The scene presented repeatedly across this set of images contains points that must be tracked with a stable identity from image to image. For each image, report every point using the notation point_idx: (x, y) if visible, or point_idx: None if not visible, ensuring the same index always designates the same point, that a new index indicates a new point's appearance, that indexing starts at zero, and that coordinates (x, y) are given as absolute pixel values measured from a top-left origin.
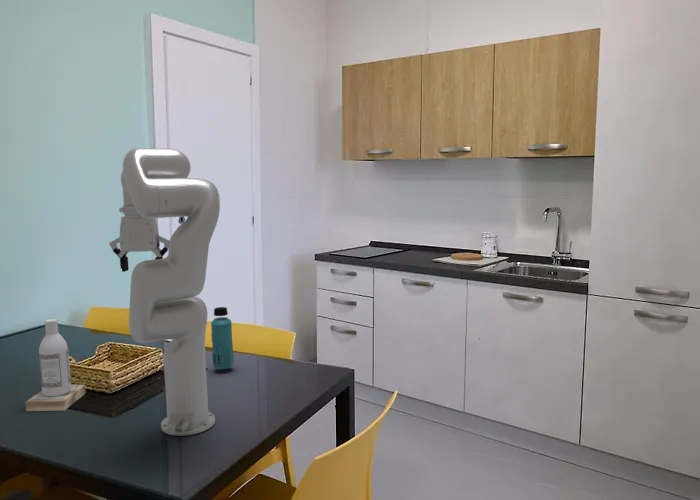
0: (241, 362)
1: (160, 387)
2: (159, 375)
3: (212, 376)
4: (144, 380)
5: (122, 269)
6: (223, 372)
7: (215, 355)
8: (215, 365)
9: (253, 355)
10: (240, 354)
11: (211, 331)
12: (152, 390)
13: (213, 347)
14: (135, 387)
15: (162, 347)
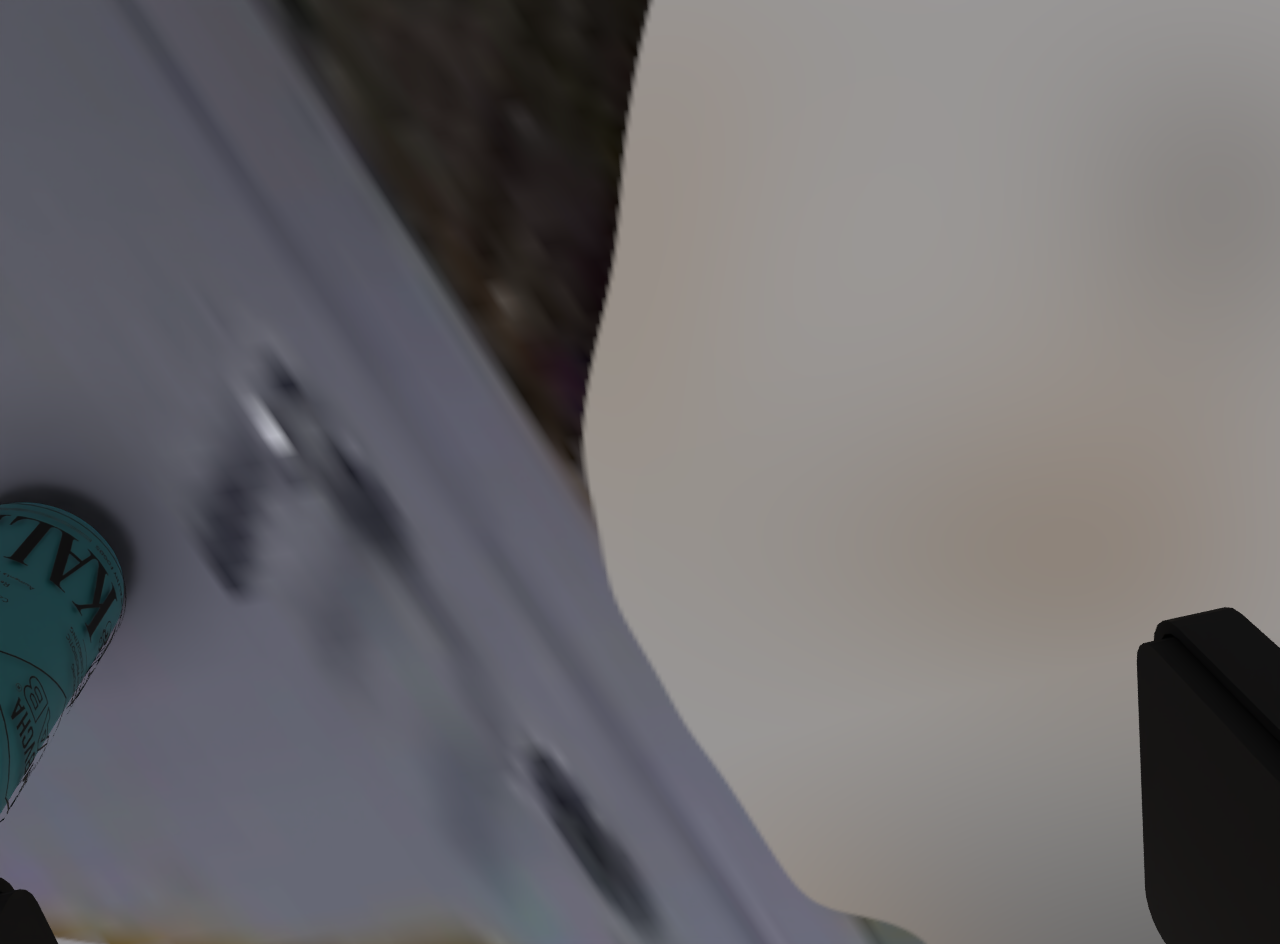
0: None
1: (361, 87)
2: (542, 361)
3: (60, 416)
4: (605, 227)
5: (1241, 635)
6: None
7: (9, 558)
8: (51, 517)
9: None
10: (146, 913)
11: (9, 747)
12: (389, 3)
13: (6, 604)
14: (587, 51)
15: (876, 934)
